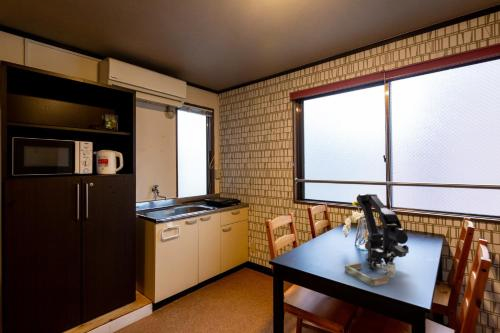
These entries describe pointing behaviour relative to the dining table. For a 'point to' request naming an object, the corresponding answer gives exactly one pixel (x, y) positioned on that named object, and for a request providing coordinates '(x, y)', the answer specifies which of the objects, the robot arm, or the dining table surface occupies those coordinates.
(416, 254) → the dining table surface
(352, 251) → the dining table surface
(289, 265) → the dining table surface
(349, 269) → the carrier nest
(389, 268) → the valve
